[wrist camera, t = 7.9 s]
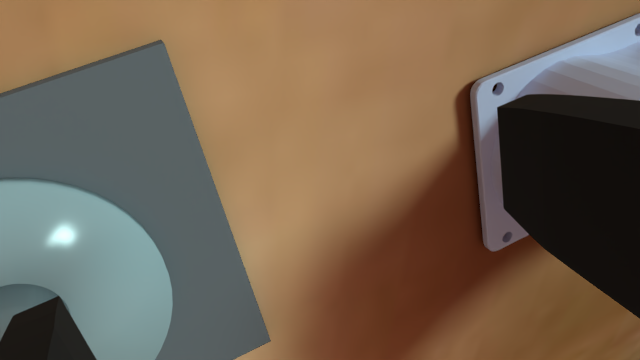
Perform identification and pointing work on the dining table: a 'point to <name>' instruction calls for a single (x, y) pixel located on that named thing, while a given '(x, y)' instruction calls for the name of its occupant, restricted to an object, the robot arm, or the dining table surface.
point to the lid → (83, 266)
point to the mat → (142, 185)
